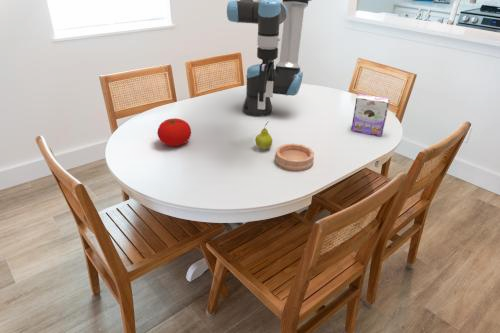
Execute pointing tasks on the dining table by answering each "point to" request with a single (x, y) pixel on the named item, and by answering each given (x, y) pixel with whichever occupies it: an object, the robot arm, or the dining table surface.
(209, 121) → the dining table surface
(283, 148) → the dish
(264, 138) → the fruit
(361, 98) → the candy box
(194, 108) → the dining table surface
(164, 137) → the tomato
